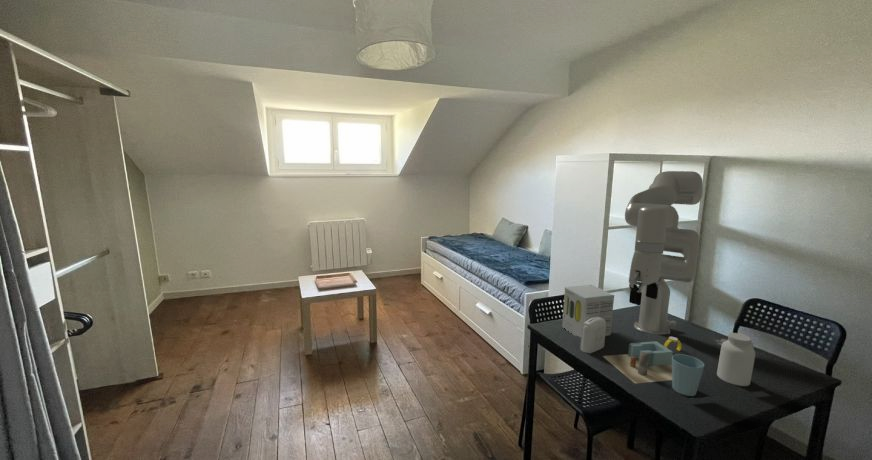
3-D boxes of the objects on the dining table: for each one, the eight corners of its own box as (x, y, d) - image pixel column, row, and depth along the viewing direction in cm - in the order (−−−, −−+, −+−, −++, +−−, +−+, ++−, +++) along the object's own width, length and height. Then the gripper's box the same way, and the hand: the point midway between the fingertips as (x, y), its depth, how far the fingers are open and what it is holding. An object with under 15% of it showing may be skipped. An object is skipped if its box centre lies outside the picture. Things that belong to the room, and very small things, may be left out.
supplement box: (561, 327, 148) (563, 286, 145) (588, 323, 151) (591, 284, 148) (582, 342, 135) (585, 298, 132) (611, 337, 138) (615, 294, 135)
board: (654, 355, 126) (656, 334, 124) (693, 381, 110) (696, 358, 109) (602, 359, 123) (604, 338, 121) (634, 387, 107) (637, 363, 106)
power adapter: (712, 352, 127) (714, 337, 126) (709, 346, 132) (711, 332, 131) (752, 360, 122) (755, 344, 121) (748, 354, 127) (750, 338, 126)
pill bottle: (727, 388, 107) (734, 341, 104) (710, 373, 114) (717, 329, 112) (756, 391, 106) (764, 343, 103) (737, 375, 113) (745, 331, 111)
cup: (689, 386, 107) (694, 354, 106) (706, 402, 100) (710, 368, 98) (663, 384, 108) (666, 353, 106) (677, 401, 101) (681, 367, 99)
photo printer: (594, 344, 133) (597, 313, 131) (605, 349, 129) (608, 317, 127) (577, 352, 127) (580, 319, 125) (588, 357, 124) (591, 324, 122)
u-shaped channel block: (654, 353, 124) (656, 341, 124) (671, 364, 117) (672, 351, 117) (627, 355, 123) (629, 343, 122) (643, 366, 116) (644, 354, 115)
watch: (667, 357, 125) (668, 341, 124) (661, 353, 128) (662, 337, 127) (682, 354, 126) (683, 339, 125) (676, 350, 128) (677, 335, 127)
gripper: (650, 242, 116) (645, 292, 119) (621, 248, 107) (615, 302, 110) (676, 246, 110) (669, 299, 113) (647, 252, 101) (640, 310, 104)
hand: (643, 300), depth 111 cm, fingers open, 9 cm apart
